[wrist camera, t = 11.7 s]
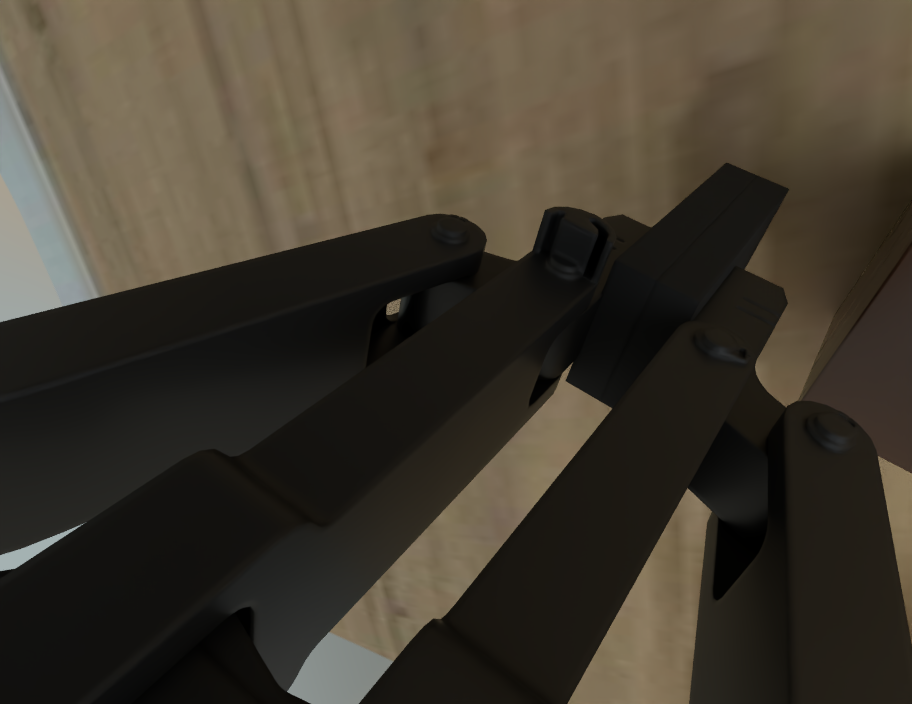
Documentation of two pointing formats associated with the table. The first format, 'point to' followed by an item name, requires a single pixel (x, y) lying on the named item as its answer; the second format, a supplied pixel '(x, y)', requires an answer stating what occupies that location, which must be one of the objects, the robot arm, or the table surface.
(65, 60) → the table surface
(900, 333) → the walnut block
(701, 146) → the table surface
